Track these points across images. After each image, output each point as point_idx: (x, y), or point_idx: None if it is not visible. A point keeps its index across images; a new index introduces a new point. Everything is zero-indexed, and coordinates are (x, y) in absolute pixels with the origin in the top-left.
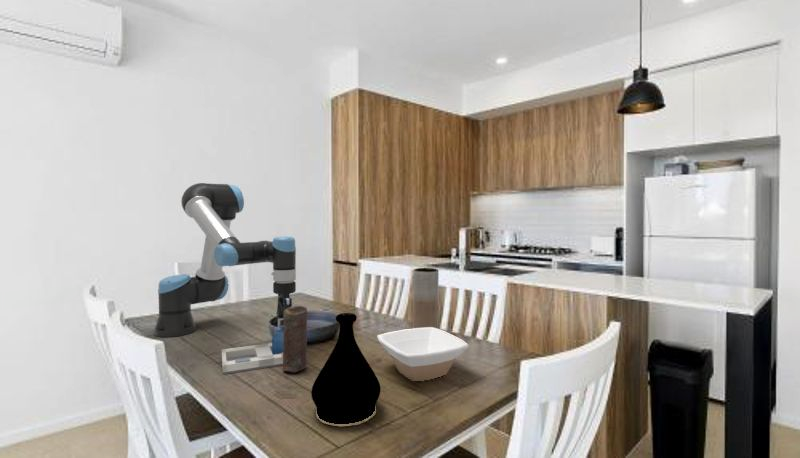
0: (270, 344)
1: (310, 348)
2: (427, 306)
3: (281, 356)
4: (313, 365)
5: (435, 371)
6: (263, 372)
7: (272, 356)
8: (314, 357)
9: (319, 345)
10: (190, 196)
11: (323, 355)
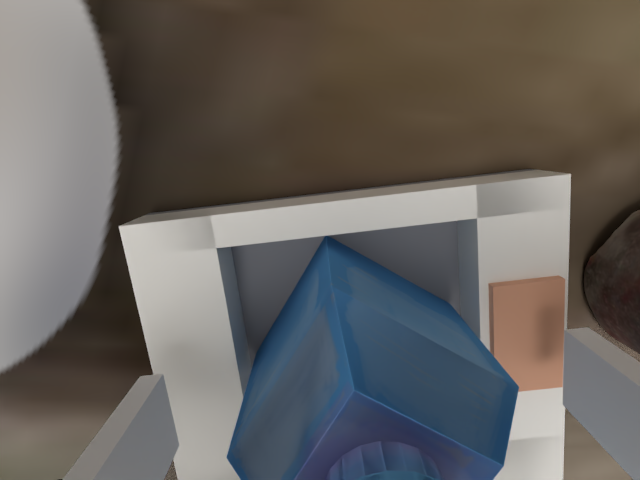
0: (210, 458)
1: (211, 103)
2: None
3: (551, 384)
4: (634, 124)
5: None
6: (600, 452)
7: (522, 446)
8: (457, 94)
9: (143, 3)
10: None
11: (437, 4)
